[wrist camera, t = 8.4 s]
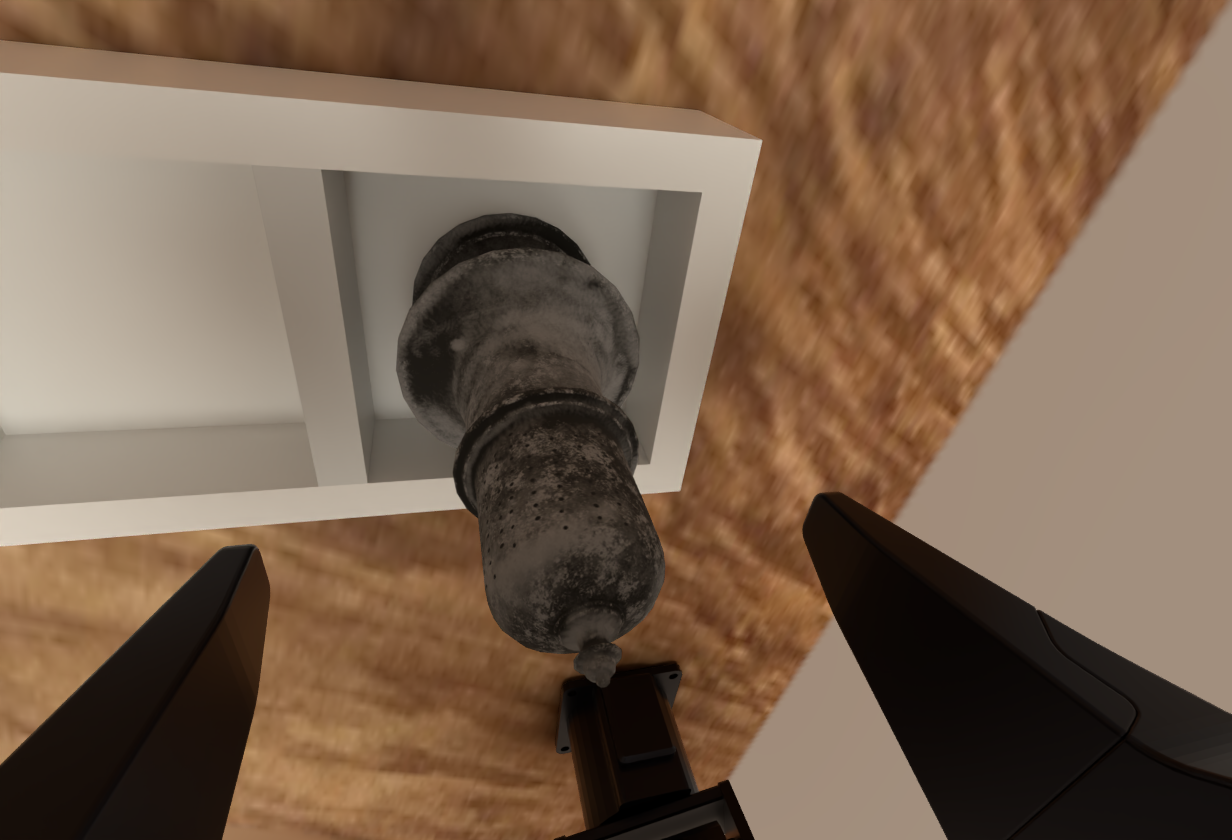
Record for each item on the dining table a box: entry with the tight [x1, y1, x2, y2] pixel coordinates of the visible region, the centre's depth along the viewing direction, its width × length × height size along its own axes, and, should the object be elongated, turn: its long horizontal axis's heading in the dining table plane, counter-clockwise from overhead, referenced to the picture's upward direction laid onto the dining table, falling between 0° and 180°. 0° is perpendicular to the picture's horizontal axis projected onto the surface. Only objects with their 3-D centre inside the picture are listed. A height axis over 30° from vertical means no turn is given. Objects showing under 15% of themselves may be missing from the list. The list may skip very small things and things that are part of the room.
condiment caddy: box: [0, 40, 762, 546], centre depth 15 cm, size 10×20×4 cm, turn 83°
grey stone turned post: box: [396, 213, 665, 688], centre depth 13 cm, size 6×6×12 cm
